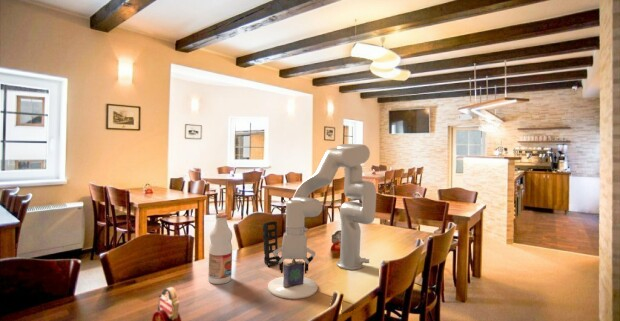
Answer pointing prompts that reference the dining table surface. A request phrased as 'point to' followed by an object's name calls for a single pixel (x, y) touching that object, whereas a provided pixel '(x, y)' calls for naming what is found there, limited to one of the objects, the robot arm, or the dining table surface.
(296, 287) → the plate
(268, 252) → the holder
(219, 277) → the fruit juice
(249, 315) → the dining table surface
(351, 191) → the robot arm
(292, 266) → the flask
